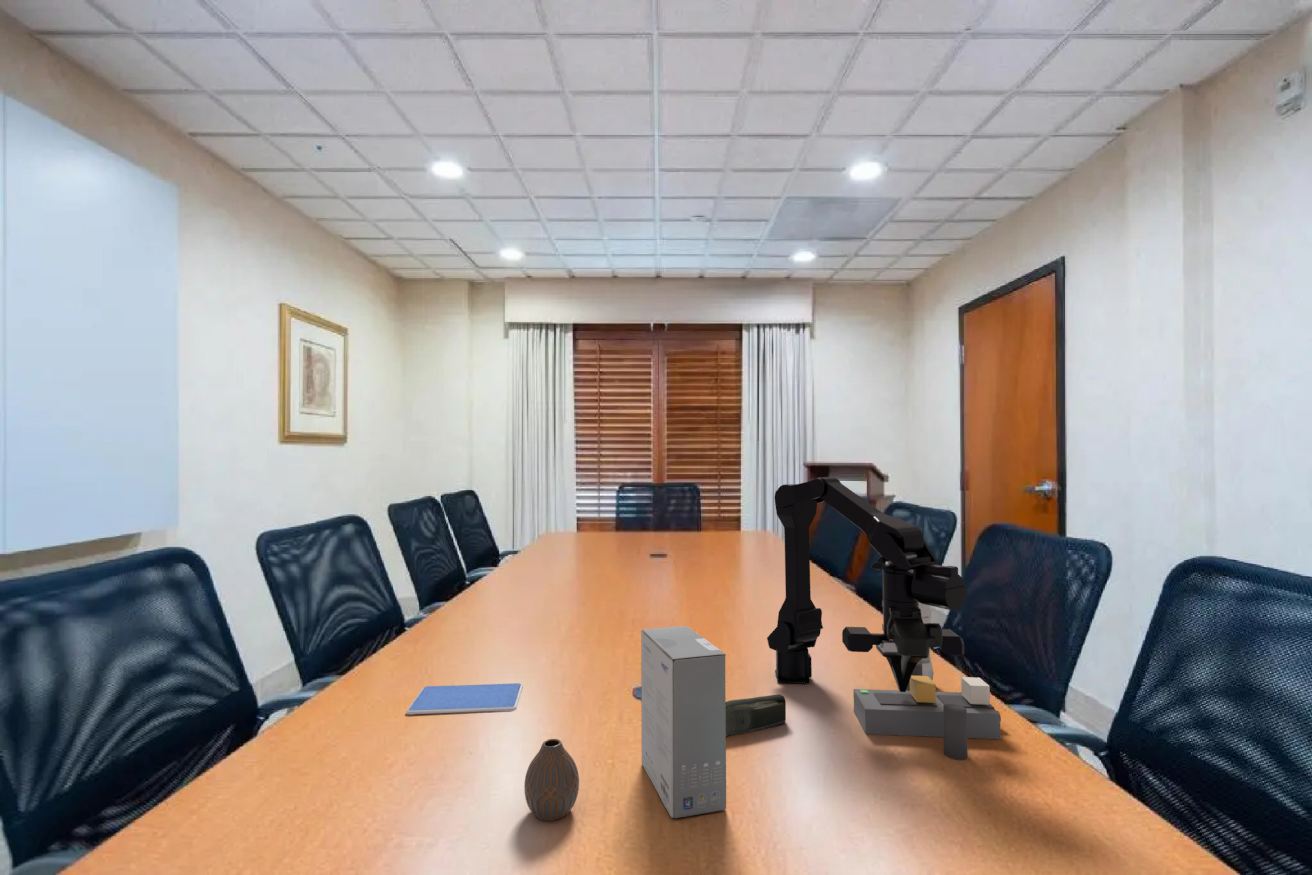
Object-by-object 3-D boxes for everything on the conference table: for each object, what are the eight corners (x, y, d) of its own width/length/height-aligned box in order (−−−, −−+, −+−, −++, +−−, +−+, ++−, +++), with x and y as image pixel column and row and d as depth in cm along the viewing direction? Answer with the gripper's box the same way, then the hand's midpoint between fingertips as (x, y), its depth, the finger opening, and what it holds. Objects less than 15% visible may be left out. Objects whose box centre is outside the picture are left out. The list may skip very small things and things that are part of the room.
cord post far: (907, 704, 114) (906, 665, 114) (902, 697, 117) (901, 659, 117) (925, 704, 114) (924, 666, 114) (919, 698, 117) (919, 660, 117)
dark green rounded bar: (778, 690, 109) (704, 703, 102) (789, 696, 106) (714, 710, 99) (778, 719, 108) (704, 734, 102) (789, 726, 106) (714, 742, 99)
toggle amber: (917, 702, 103) (916, 683, 103) (909, 692, 107) (909, 675, 107) (935, 702, 103) (935, 684, 103) (927, 693, 107) (927, 675, 107)
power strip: (865, 733, 102) (865, 707, 102) (853, 711, 111) (853, 687, 111) (1011, 739, 99) (1010, 713, 99) (987, 716, 108) (986, 692, 108)
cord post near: (948, 759, 93) (947, 711, 93) (941, 749, 96) (940, 703, 96) (971, 760, 93) (970, 712, 93) (962, 750, 96) (961, 704, 96)
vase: (527, 798, 83) (527, 731, 83) (580, 796, 83) (580, 729, 84) (520, 829, 76) (521, 756, 76) (577, 826, 76) (577, 754, 77)
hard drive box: (728, 811, 79) (727, 654, 80) (671, 822, 77) (670, 660, 78) (688, 756, 94) (687, 623, 95) (639, 763, 92) (639, 627, 93)
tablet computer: (523, 688, 124) (523, 681, 124) (516, 714, 112) (516, 706, 112) (423, 692, 122) (423, 685, 122) (404, 718, 110) (404, 711, 110)
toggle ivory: (970, 703, 102) (970, 685, 103) (961, 694, 106) (961, 676, 107) (989, 704, 102) (989, 686, 102) (979, 695, 106) (979, 677, 106)
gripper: (854, 608, 99) (855, 708, 99) (977, 611, 97) (979, 712, 97) (841, 593, 110) (842, 682, 110) (951, 595, 108) (952, 686, 108)
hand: (902, 691), depth 106 cm, fingers closed
